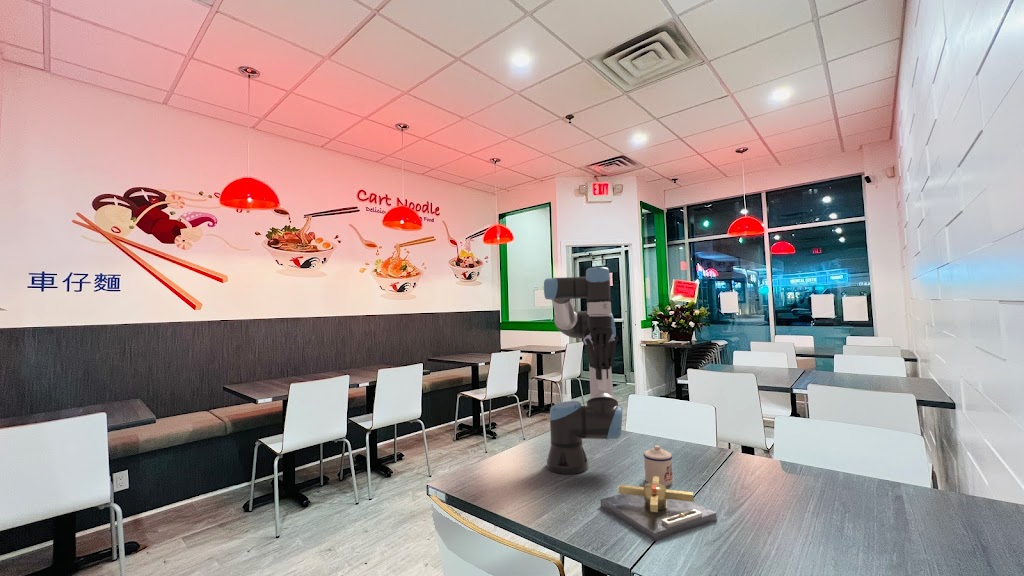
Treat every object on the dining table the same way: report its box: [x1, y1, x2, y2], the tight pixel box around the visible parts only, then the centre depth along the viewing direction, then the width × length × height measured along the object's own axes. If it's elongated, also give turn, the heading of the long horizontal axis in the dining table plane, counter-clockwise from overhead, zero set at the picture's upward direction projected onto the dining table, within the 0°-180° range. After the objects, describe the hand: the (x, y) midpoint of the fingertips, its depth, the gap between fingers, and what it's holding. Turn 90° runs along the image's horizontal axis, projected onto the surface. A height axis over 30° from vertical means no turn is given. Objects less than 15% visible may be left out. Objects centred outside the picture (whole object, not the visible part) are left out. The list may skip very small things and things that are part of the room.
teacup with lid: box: [643, 445, 674, 487], centre depth 146 cm, size 12×9×12 cm
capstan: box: [618, 476, 695, 512], centre depth 123 cm, size 20×20×6 cm
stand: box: [600, 488, 717, 542], centre depth 122 cm, size 22×22×4 cm
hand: (602, 389), depth 138 cm, fingers closed
